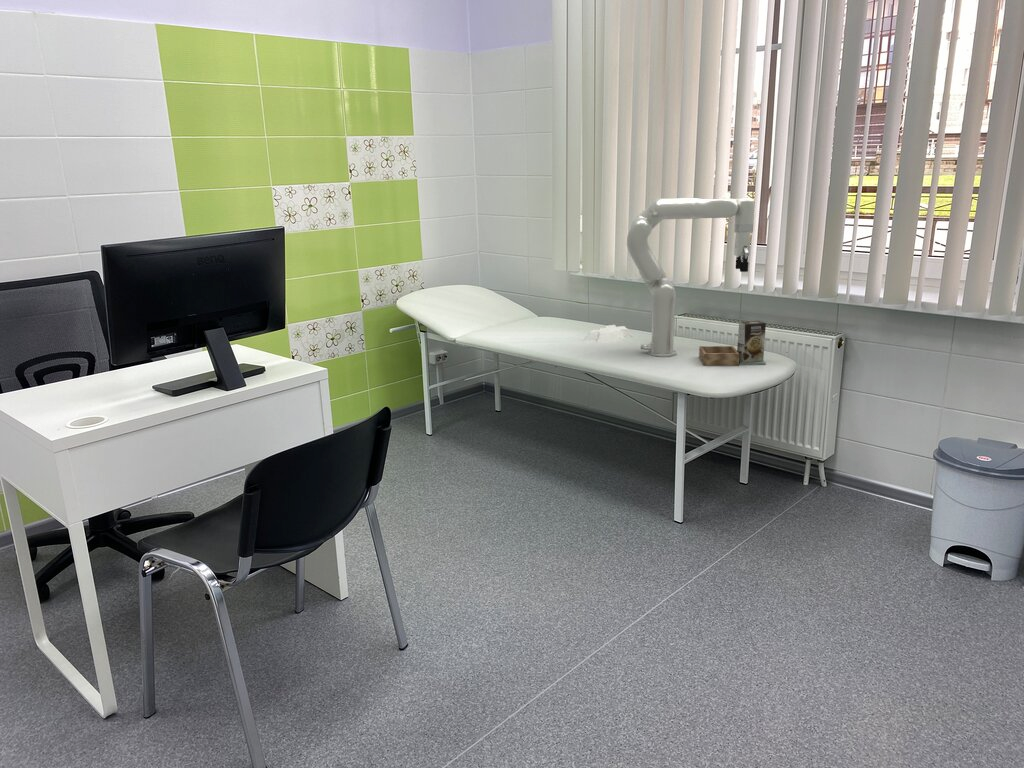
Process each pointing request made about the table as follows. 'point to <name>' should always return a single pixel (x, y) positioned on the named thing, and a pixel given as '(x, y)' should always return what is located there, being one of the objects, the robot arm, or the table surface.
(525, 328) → the table surface
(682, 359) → the table surface
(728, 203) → the robot arm
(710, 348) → the holder
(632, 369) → the table surface
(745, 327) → the coffee box
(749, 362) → the mat
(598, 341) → the paper sheets
